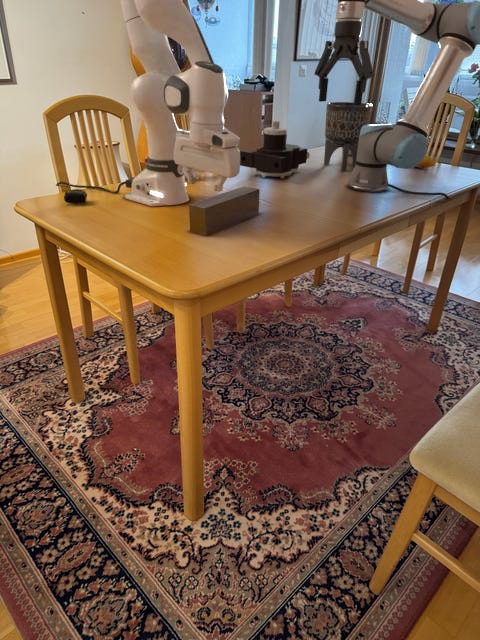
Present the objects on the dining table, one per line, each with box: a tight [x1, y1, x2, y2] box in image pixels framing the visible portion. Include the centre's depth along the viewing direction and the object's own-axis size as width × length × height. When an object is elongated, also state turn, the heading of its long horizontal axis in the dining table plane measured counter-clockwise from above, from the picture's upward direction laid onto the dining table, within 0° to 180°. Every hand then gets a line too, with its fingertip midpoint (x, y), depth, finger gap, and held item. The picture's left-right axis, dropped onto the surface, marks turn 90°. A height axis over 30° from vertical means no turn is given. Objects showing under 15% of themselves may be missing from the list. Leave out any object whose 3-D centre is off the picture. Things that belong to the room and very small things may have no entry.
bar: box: [188, 185, 261, 237], centre depth 135 cm, size 27×6×8 cm, turn 144°
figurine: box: [184, 169, 206, 180], centre depth 182 cm, size 8×15×13 cm, turn 145°
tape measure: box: [63, 188, 88, 205], centre depth 151 cm, size 7×7×4 cm
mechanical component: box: [239, 120, 311, 179], centre depth 191 cm, size 22×21×30 cm
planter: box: [323, 101, 374, 172], centre depth 204 cm, size 20×20×26 cm
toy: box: [415, 154, 437, 169], centre depth 213 cm, size 11×6×15 cm
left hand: (204, 187), depth 125 cm, fingers open, 8 cm apart
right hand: (339, 103), depth 140 cm, fingers open, 13 cm apart
